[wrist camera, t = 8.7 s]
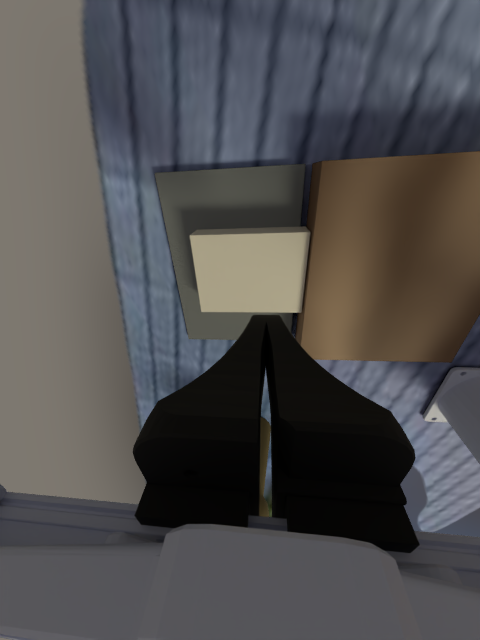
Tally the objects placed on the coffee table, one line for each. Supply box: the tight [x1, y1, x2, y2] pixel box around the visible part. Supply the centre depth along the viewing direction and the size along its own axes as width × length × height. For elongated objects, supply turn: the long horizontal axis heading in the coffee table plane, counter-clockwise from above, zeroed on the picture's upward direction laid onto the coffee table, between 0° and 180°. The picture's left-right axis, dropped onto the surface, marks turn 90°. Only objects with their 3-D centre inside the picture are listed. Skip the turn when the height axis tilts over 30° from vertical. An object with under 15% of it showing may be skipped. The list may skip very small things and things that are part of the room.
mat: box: [155, 164, 305, 340], centre depth 19 cm, size 10×14×1 cm
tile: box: [190, 226, 310, 313], centre depth 18 cm, size 8×6×2 cm
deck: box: [295, 151, 480, 363], centre depth 17 cm, size 12×14×3 cm
